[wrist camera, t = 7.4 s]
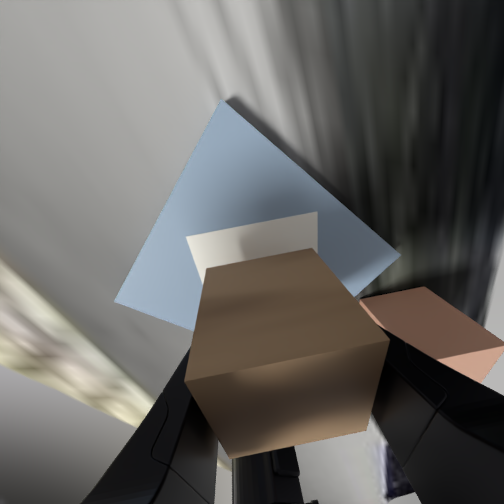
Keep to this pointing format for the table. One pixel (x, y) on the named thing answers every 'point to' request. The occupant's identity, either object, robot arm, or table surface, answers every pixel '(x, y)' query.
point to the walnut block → (282, 354)
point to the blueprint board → (243, 222)
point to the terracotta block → (436, 330)
